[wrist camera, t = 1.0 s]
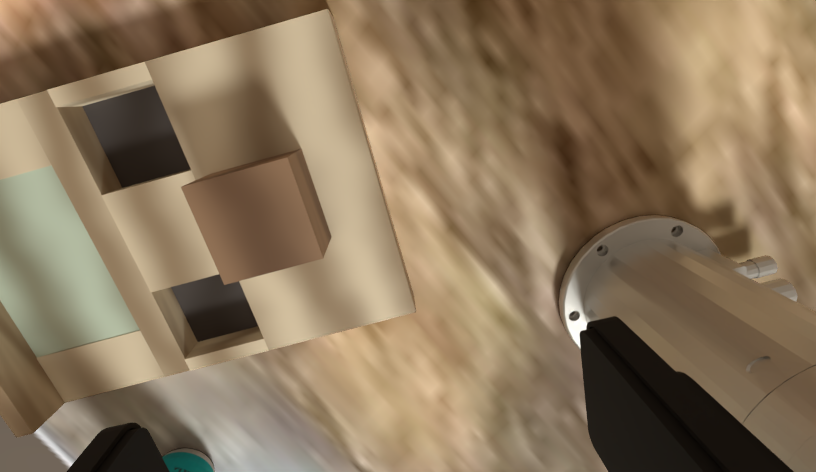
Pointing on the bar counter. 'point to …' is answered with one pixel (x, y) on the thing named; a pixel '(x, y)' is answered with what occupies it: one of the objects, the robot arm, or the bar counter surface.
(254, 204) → the walnut block
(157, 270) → the trap board
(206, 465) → the beverage can
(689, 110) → the bar counter surface
